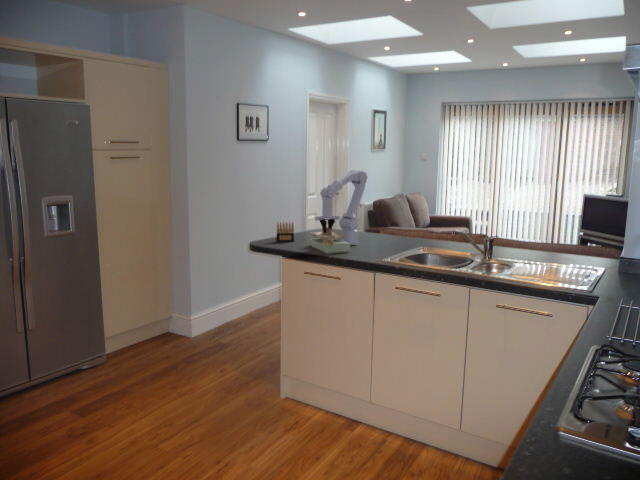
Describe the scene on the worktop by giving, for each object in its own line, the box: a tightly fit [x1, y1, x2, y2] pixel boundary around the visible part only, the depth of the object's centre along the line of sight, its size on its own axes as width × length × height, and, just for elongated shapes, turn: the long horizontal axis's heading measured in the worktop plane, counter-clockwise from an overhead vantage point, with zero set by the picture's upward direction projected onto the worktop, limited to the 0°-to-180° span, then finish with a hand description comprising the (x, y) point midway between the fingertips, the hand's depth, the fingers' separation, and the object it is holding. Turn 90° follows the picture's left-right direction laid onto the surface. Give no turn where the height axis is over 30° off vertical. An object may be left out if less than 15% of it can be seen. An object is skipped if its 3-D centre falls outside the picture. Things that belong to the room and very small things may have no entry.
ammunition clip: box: [275, 221, 295, 243], centre depth 313 cm, size 11×2×12 cm, turn 102°
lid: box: [309, 226, 344, 239], centre depth 296 cm, size 14×16×4 cm
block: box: [324, 237, 333, 245], centre depth 282 cm, size 3×6×3 cm, turn 24°
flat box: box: [309, 237, 351, 255], centre depth 294 cm, size 14×24×5 cm, turn 24°
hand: (327, 232), depth 296 cm, fingers closed on lid, 2 cm apart
